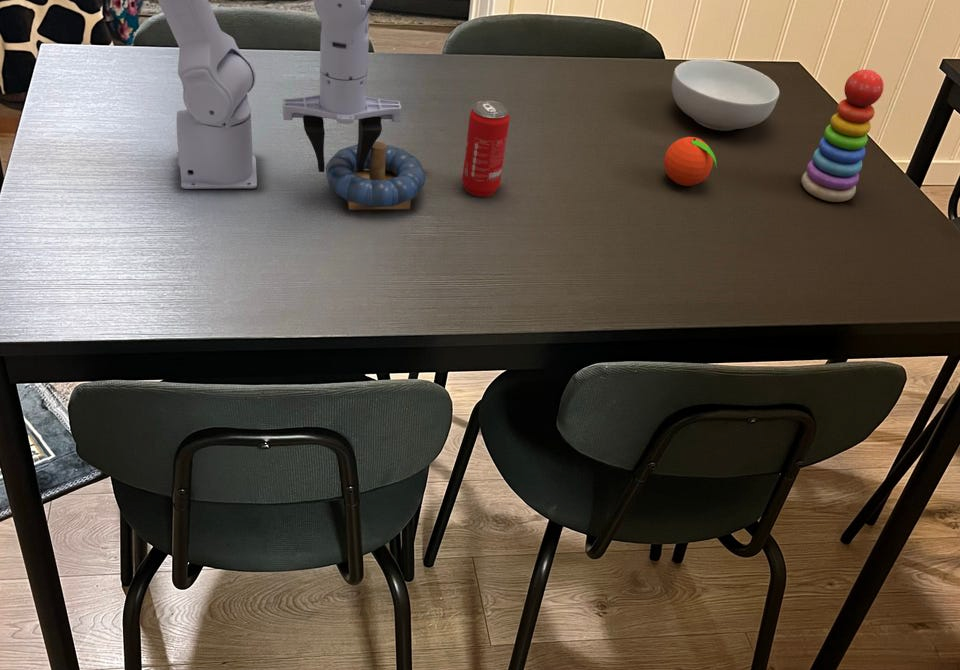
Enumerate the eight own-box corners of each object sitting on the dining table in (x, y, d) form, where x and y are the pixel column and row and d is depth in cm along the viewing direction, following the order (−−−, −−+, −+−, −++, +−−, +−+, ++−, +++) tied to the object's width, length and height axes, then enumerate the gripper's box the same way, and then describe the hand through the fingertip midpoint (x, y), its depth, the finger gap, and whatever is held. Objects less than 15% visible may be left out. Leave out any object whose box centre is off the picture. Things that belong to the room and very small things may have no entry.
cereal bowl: (780, 120, 160) (794, 81, 156) (745, 156, 149) (759, 114, 144) (688, 86, 166) (698, 48, 162) (647, 118, 155) (657, 77, 150)
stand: (348, 209, 124) (350, 160, 120) (343, 177, 130) (344, 129, 126) (410, 209, 126) (413, 161, 121) (401, 177, 132) (405, 130, 127)
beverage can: (471, 201, 129) (482, 120, 122) (455, 181, 133) (464, 102, 125) (505, 195, 131) (517, 115, 124) (488, 176, 135) (499, 97, 127)
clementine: (721, 188, 140) (734, 145, 135) (694, 203, 136) (708, 159, 131) (676, 165, 144) (688, 122, 139) (649, 179, 140) (661, 135, 135)
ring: (331, 212, 121) (331, 189, 119) (322, 161, 130) (322, 138, 128) (430, 210, 124) (432, 188, 122) (415, 160, 133) (416, 138, 131)
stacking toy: (856, 187, 145) (905, 71, 133) (848, 210, 139) (899, 91, 127) (805, 171, 147) (848, 55, 135) (795, 193, 141) (839, 74, 130)
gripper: (284, 83, 111) (285, 184, 120) (407, 86, 115) (400, 184, 123) (281, 57, 117) (282, 155, 125) (399, 60, 120) (392, 156, 129)
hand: (340, 168), depth 125 cm, fingers open, 4 cm apart
